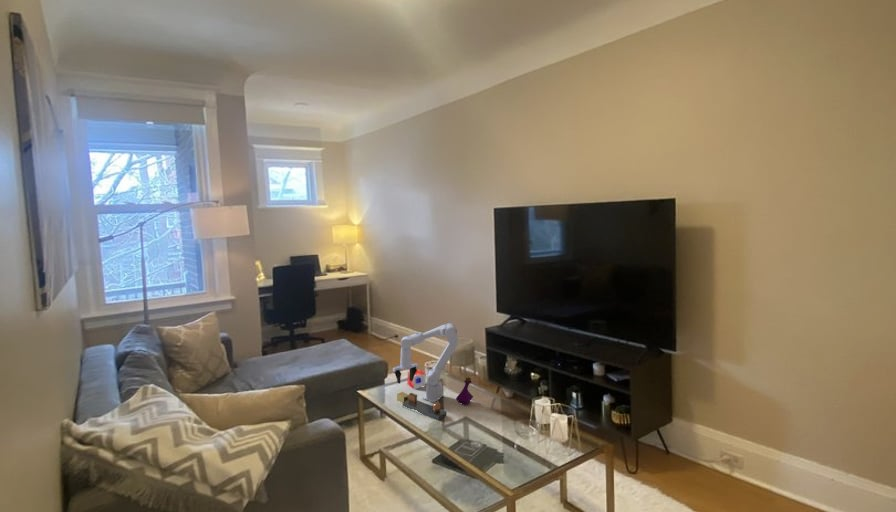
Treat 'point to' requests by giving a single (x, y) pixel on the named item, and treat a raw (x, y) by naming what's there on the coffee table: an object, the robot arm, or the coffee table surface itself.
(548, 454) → the coffee table surface
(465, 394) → the perfume bottle
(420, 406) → the hand plane
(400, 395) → the lever cap
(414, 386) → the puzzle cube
